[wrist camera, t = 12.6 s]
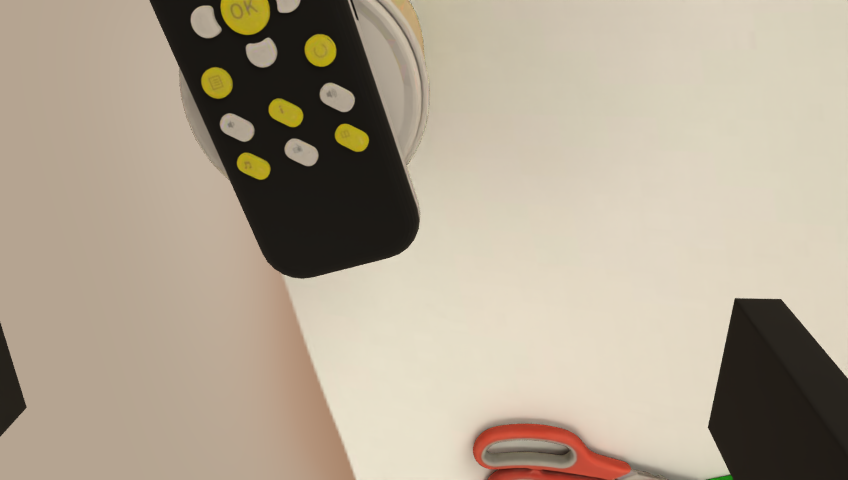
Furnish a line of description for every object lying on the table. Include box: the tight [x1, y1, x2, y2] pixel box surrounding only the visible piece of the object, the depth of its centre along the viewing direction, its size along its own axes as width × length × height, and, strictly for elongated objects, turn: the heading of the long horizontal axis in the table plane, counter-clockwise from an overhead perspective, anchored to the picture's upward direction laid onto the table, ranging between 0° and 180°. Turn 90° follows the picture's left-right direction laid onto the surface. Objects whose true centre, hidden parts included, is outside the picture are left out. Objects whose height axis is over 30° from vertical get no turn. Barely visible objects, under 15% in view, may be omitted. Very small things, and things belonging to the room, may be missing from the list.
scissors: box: [473, 424, 668, 480], centre depth 46 cm, size 8×21×2 cm, turn 91°
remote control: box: [150, 0, 420, 279], centre depth 24 cm, size 6×13×2 cm, turn 17°
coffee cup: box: [179, 0, 430, 180], centre depth 30 cm, size 9×9×12 cm
